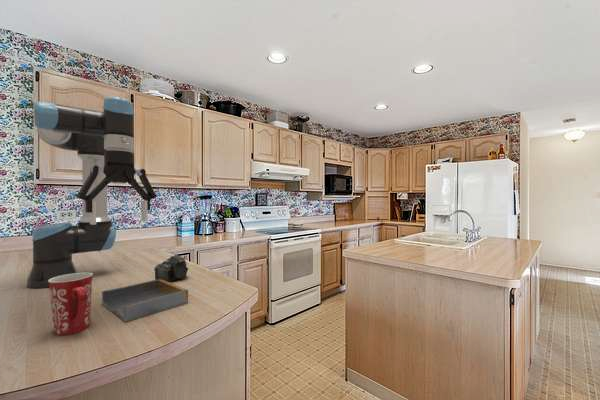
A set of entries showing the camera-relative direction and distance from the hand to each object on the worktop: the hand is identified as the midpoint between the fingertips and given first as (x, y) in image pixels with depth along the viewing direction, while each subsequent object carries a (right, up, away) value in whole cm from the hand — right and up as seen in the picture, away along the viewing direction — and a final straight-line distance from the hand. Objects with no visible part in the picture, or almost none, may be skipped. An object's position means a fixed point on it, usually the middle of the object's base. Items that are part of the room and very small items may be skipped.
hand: (120, 222), depth 83 cm
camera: (+2, -26, +31) cm, 41 cm away
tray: (+4, -26, +6) cm, 27 cm away
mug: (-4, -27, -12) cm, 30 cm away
